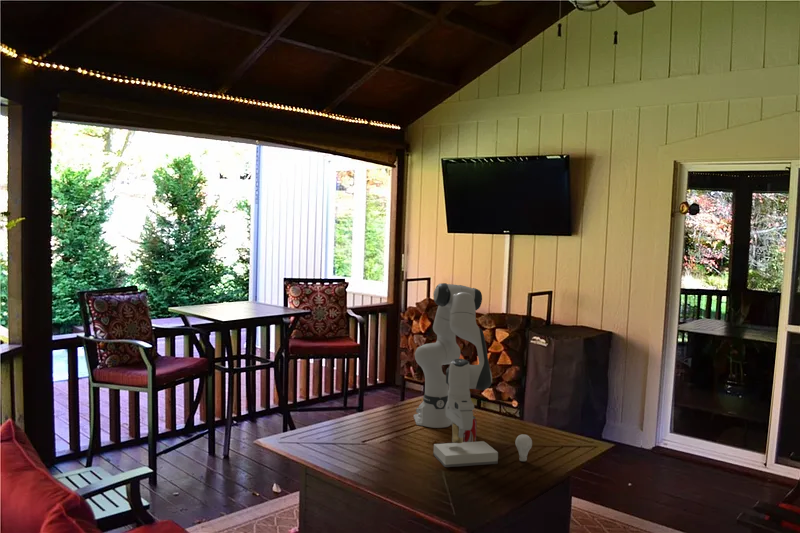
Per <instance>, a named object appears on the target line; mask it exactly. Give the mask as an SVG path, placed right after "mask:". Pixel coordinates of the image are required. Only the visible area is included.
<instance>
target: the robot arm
mask: <svg viewBox="0 0 800 533" xmlns="http://www.w3.org/2000/svg"><path fill="white" fill-rule="evenodd" d="M433 302H434V303H435V304H436V305H437V309H436V313H435V317H434V321H433V325H432V330H433V332H434V333H435V335H436V341H435V342H430V343H425V344H423V345H421V346H418V347H417V348H416V350H415V352H414V359H415V361H416V363H417V365H418V366H419V367H420V368H421V370H422V371H423V374H424V393H423V397H422V398H423V399H422V402H421V403H420V404H419V405H418V407H416V409H415V412H416V413H415V414H413V419H414V421H415V424H416V425H417V426H422V427H423V426H424V427H427V428H434V429H436V428H437V429H442V428H448V427H450V426H451V427H452V426H453V423H454V424H456V425H457V426H458V427H459V432H458V437H459V438H463V433H464V431H465V430H471V429H472V424H473V416H474V412H473V411H474V410H475V404H474V402H473V401H472V398H471V391H470V389H473V390H479V391H485V390H487V389H489V388H490V387H491V385H492V382H493V375H492V374H493V373H492V370H491V368H490V363H489V356H488V352H487V350H488V349H487V344H486V338H485V334H484V331H483V329H482V328H481V327H479V326H478V324H477V321H476V320H477V318H476V311H478V310H479V309H480V308H481V305H482V302H483V295H482V292H481V290H480V289H477V288H475V287H470V286H468V285H467V286H466V285H461V284H454V283H453V284H452V283H451V284H450V283H444V282H443V283H442V282H441V283H438V284H437V285H436V286H435V288H434V291H433ZM456 337H458V338H460V339H462V340H465V341H468V342H470V343H471V344H472V345H474V346H475V348H476V352H477V358H478V364H470V361H468V360H467V359H463V358H461V353H462V352H461V348H460V346H459V344H458V343H457V338H456ZM443 365H444V366H445V365H449V366H448V367H447V368H446V370H445V374H444V372H443Z"/></svg>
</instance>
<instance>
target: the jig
mask: <svg viewBox="0 0 800 533" xmlns="http://www.w3.org/2000/svg"><path fill="white" fill-rule="evenodd" d="M432 455H433V456H434V457H435V458H436V460H438V461H439V463H440V464H441V465H442V466H443V467H445V468H452V467H453V468H454V467H455V468H456V467H468V466H481V465H485V466H486V465H497V464H498V461H499V452H498V451H497V450H496V449H494V448H493V447H492V446H491V445H489V444H488V443H487V442H485V440H480V441H476V442H463V443H454V442H447V443H433V454H432Z"/></svg>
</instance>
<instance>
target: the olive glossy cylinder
mask: <svg viewBox="0 0 800 533" xmlns="http://www.w3.org/2000/svg"><path fill="white" fill-rule="evenodd" d="M451 427H452V429H451V430H452V434H451V435H452V436H451V443H463V438H459V437H458V432H459V427H458V426H457V425H456V424H454V423H453V426H452V425H451Z"/></svg>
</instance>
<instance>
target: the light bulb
mask: <svg viewBox="0 0 800 533" xmlns="http://www.w3.org/2000/svg"><path fill="white" fill-rule="evenodd" d="M514 442H515V447H516V449H517V451H518V456H519V459H518V460H519V461H520V462H522V463H525V462H526V461H527V460H528V454H529V452H530V450H531V449H532V447H533V440H532V438H531V437H530V436H529V435H528V434H519V435H518V436H517V437H516V438H515V441H514Z"/></svg>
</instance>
